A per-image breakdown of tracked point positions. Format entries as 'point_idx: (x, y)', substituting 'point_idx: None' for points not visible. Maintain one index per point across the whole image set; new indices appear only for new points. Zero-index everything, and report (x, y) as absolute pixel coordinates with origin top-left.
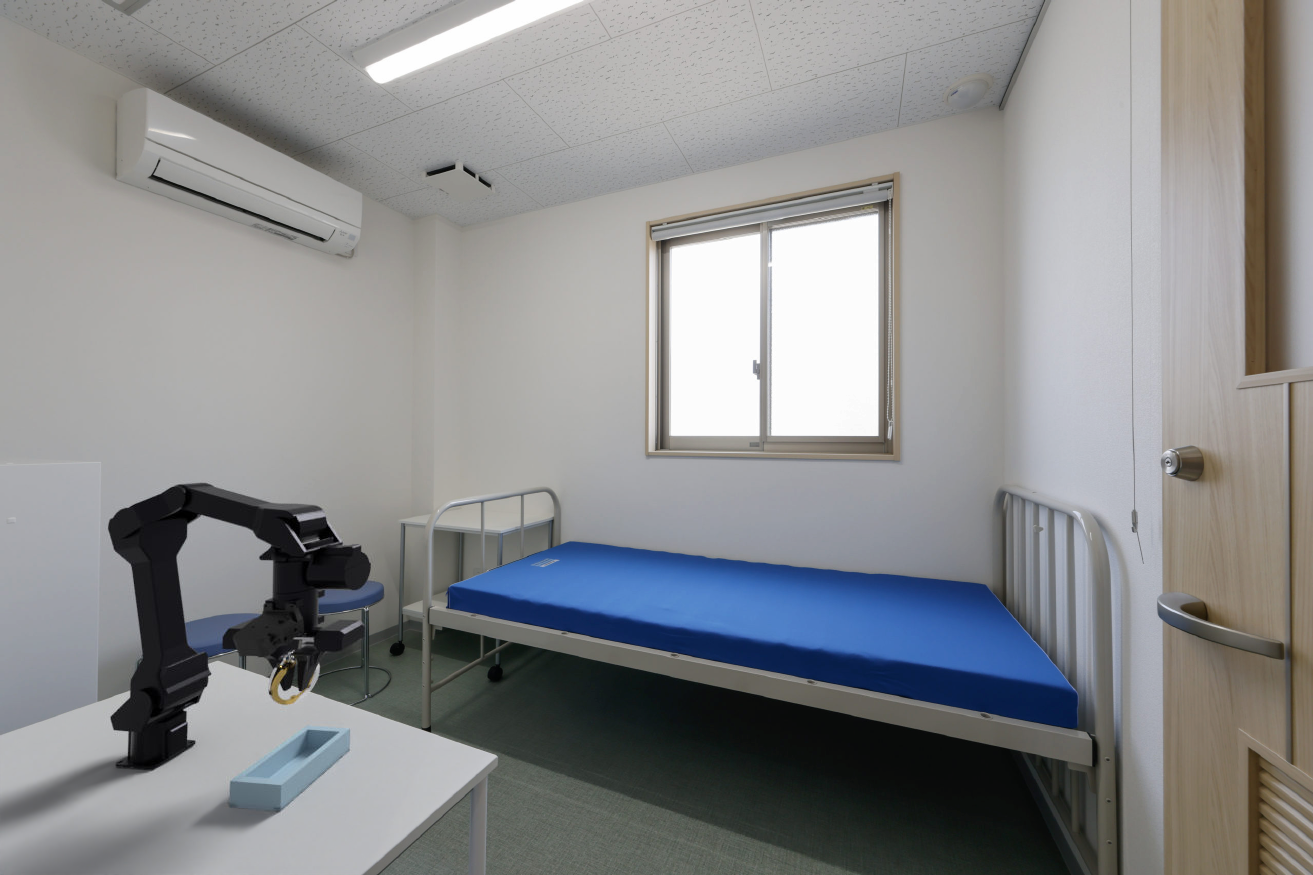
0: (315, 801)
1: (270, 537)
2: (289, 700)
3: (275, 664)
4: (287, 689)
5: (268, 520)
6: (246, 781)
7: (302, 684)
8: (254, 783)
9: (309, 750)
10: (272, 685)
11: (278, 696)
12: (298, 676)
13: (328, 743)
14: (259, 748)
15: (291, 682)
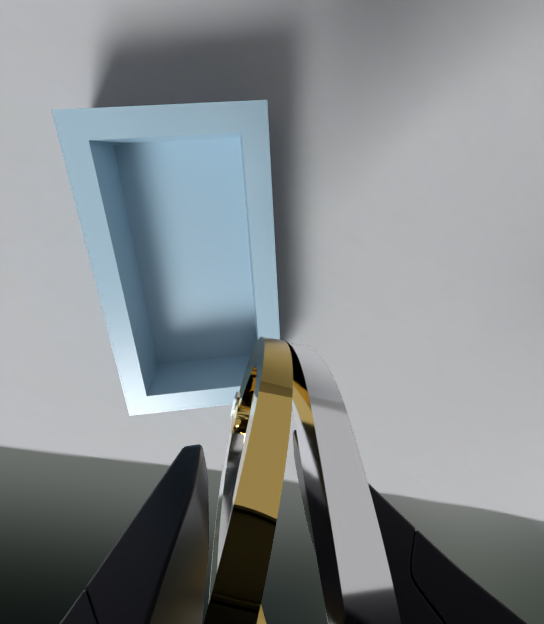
0: (27, 179)
1: None
2: (242, 389)
3: (439, 617)
4: (293, 442)
5: None
6: (203, 106)
7: (161, 484)
8: (167, 105)
9: (241, 347)
10: (283, 383)
11: (256, 362)
12: (166, 534)
13: (123, 340)
14: (394, 334)
15: (302, 490)
